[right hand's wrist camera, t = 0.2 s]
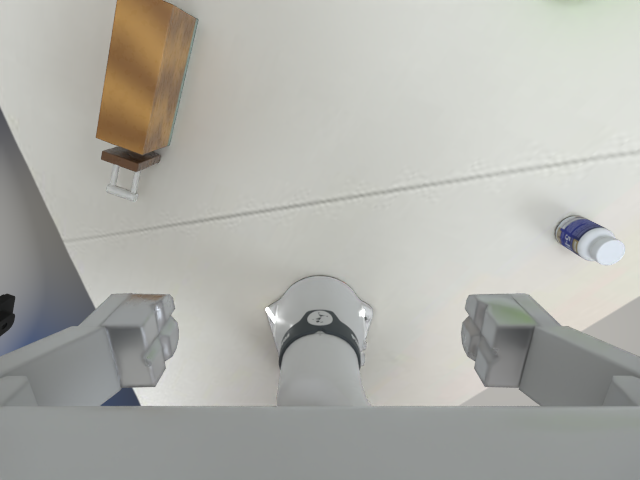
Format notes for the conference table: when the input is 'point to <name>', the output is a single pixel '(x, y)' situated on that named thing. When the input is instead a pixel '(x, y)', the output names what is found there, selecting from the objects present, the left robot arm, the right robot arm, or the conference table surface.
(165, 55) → the cabinet
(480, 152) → the conference table surface
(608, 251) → the pill bottle
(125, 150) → the drawer
